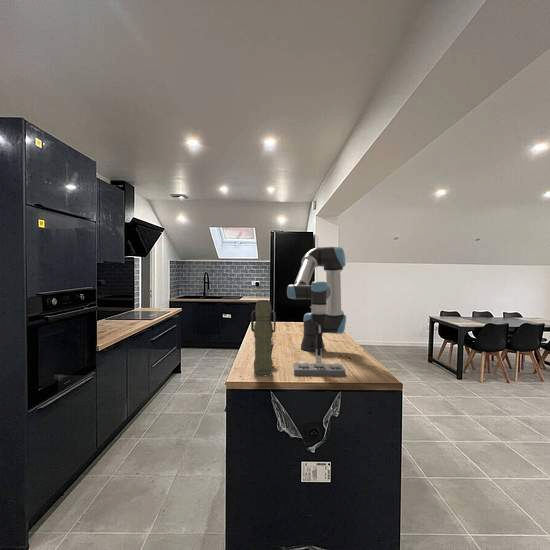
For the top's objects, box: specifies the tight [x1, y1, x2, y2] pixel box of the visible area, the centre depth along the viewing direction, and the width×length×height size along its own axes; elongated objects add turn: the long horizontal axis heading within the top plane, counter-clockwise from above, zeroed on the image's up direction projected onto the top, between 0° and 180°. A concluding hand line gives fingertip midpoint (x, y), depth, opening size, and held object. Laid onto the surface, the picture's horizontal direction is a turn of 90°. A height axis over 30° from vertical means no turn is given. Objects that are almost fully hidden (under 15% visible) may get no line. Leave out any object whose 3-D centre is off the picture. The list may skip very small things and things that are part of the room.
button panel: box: [293, 363, 346, 377], centre depth 174 cm, size 12×24×3 cm, turn 87°
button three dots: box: [313, 360, 325, 368], centre depth 174 cm, size 5×5×4 cm
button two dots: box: [297, 360, 309, 368], centre depth 175 cm, size 5×5×4 cm
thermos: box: [250, 299, 277, 376], centre depth 171 cm, size 9×12×35 cm
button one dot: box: [328, 361, 340, 368], centre depth 174 cm, size 5×5×4 cm
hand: (318, 361), depth 174 cm, fingers closed
